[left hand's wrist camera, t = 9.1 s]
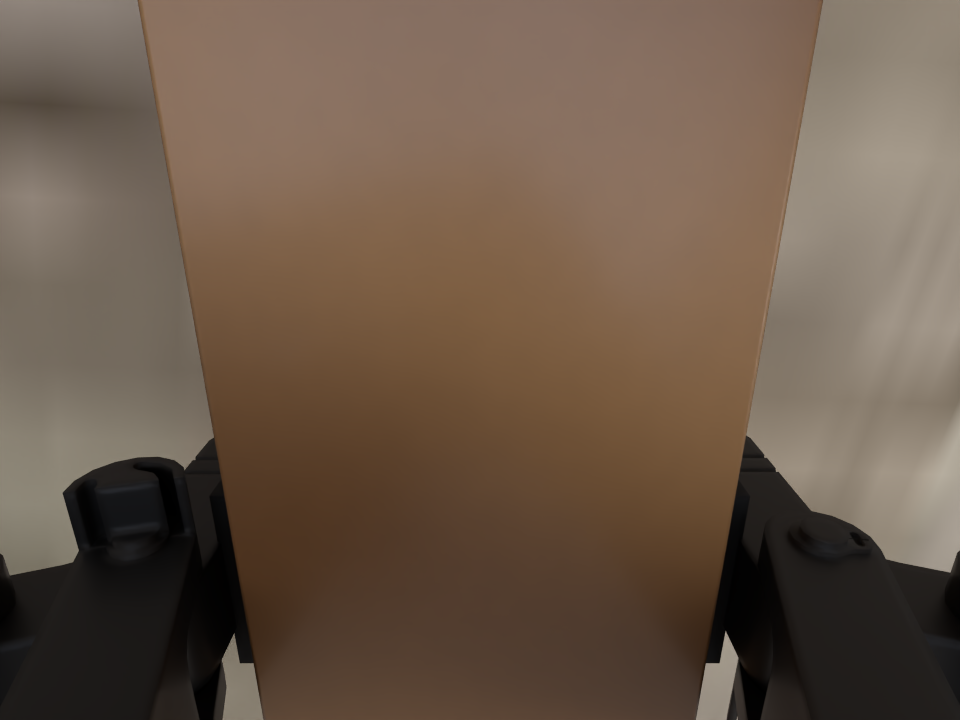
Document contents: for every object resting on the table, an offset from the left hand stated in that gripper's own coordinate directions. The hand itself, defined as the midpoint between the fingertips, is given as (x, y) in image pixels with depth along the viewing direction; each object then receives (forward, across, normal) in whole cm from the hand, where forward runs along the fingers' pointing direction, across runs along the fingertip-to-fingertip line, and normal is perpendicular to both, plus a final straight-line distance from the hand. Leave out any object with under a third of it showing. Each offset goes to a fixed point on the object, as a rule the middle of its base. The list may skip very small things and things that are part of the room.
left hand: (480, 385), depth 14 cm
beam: (+1, 0, -35) cm, 35 cm away
